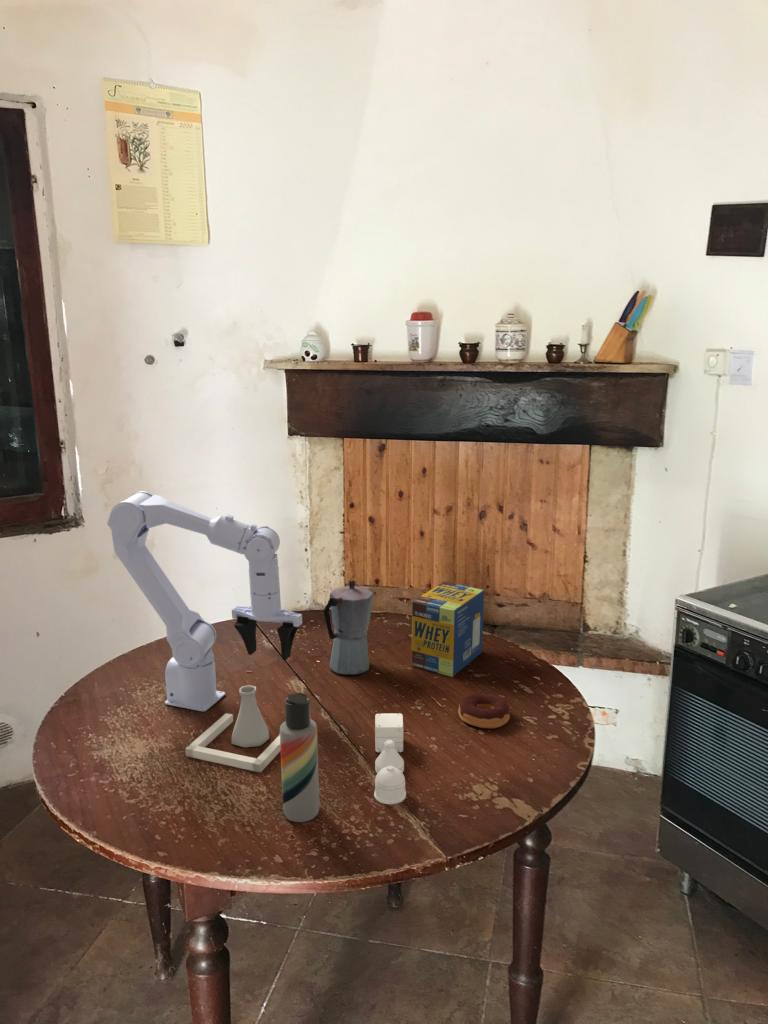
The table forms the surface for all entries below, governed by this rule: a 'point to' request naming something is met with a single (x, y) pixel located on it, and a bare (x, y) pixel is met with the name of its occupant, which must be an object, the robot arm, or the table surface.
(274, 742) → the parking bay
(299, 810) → the lotion bottle
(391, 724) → the container set
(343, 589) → the moka pot
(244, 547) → the robot arm
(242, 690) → the flask
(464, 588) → the protein box
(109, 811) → the table surface
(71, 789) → the table surface
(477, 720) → the donut
